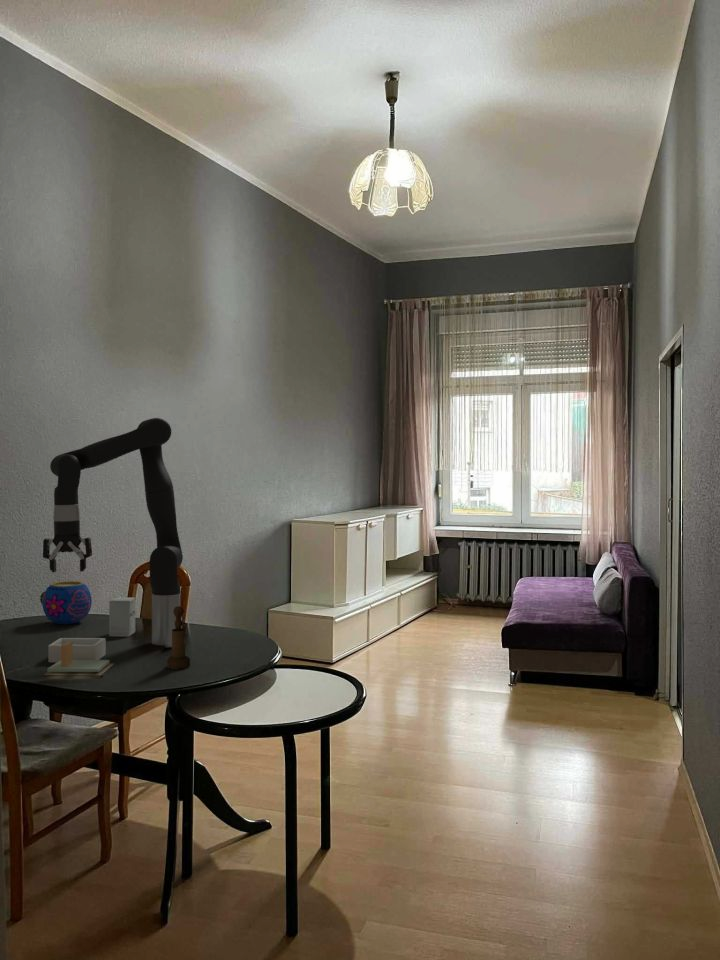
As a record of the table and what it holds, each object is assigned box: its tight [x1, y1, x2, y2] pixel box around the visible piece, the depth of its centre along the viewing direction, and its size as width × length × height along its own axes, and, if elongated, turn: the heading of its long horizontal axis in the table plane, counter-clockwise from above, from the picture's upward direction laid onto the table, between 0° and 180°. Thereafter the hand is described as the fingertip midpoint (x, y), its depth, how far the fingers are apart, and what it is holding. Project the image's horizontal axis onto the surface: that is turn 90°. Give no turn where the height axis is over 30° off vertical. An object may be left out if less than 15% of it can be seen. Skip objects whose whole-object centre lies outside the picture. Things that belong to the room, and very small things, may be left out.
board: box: [43, 663, 114, 680], centre depth 235 cm, size 16×13×1 cm
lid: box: [46, 642, 111, 673], centre depth 235 cm, size 14×10×7 cm
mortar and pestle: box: [166, 605, 191, 670], centre depth 242 cm, size 7×6×18 cm
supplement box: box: [108, 596, 136, 638], centre depth 286 cm, size 7×7×13 cm
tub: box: [47, 637, 107, 663], centre depth 248 cm, size 14×10×6 cm
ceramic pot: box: [39, 580, 93, 625], centre depth 305 cm, size 18×18×15 cm
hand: (68, 571), depth 251 cm, fingers open, 8 cm apart
